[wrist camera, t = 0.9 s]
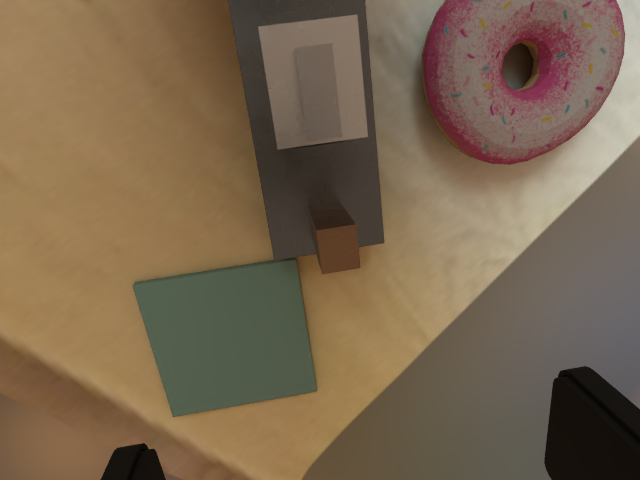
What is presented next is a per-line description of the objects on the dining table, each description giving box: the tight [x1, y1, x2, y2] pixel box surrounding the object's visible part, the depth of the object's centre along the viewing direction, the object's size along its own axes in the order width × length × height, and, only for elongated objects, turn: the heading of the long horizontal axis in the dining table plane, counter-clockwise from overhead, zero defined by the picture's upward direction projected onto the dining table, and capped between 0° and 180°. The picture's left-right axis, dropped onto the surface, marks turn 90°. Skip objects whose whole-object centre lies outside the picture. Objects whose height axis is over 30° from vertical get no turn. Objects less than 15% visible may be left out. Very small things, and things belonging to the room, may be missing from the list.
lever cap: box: [258, 15, 368, 150], centre depth 22 cm, size 6×5×6 cm
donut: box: [422, 0, 625, 164], centre depth 28 cm, size 14×13×5 cm
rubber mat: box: [133, 257, 317, 417], centre depth 34 cm, size 13×13×1 cm
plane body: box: [228, 0, 384, 274], centre depth 24 cm, size 22×8×10 cm, turn 7°
